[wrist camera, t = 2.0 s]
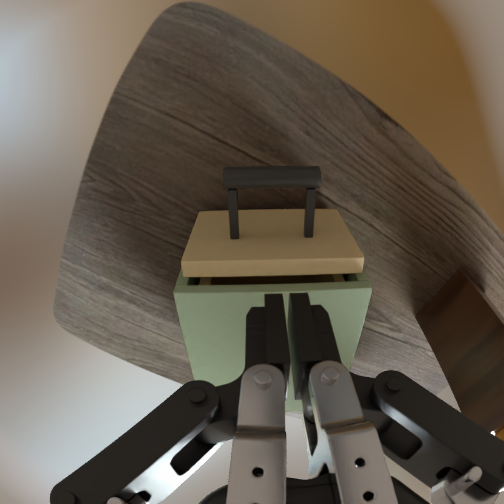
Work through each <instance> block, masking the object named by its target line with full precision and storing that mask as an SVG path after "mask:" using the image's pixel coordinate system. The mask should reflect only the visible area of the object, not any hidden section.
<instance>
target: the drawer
mask: <svg viewBox="0 0 504 504" xmlns="http://www.w3.org/2000/svg"><path fill="white" fill-rule="evenodd" d="M320 184H321V171H320V168H319V167H318V166H251V167H225V168H223V187H224V189H228V190H227V194H228V210H224V211H200V212H199V214H198V217H197V219H196V222H195V225H194V227H193V230H192V233H191V235H190V238H189V241H188V243H187V246H186V249H185V252H184V254H183V257H182V260H181V266H182V271H183V277H201V279H200V283H199V285H257V284H296V283H325V282H345V280H344V277H343V275H342V274H345V273H362V268H363V263H364V256H363V254H362V252H361V250H360V249H359V247H358V245H357V243H356V242H355V240H354V238H353V236H352V235H351V233H350V231H349V230H348V228H347V226H346V224H345V223H344V221H343V219H342V218H341V216H340V214H339V213H338V211H337V209H315V200H316V189H315V188H319V187H320ZM259 188H306V193H305V209H263V210H238V195H237V189H259Z"/></svg>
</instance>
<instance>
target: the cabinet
mask: <svg viewBox="0 0 504 504" xmlns="http://www.w3.org/2000/svg"><path fill="white" fill-rule="evenodd" d="M342 275H343V277H344V280H345V282H325V283H296V284H257V285H199V283H200V279H201V277H183V271H182V267H181V270H180V273H179V276H178V279H177V282H176V286H175V288H174V291H173V295H174V299H175V304H176V308H177V313H178V317H179V321H180V326H181V330H182V334H183V338H184V342H185V346H186V350H187V354H188V358H189V362H190V366H191V369H192V373H193V377H194V380H204V381H207V382H210V383H212V384H213V385H214V386H215V387H216V386H220V385H224V384H227V383H230V382H232V381H234V380H236V379H237V378H238V377H239V376H240V375H241V374H242V372H243V371H244V368H245V338H246V315H247V313H248V312H249V310H250V308H251V307H263V306H264V294H273V293H282V294H283V300H284V308H285V317H286V325H287V319H288V302H289V293H304V292H307V293H308V295H309V299H310V304H311V305H319V304H321V305H322V306H323V307H324V309H325V310H326V311H327V312H328V314H329V317H330V321H331V324H332V328H333V332H334V335H335V339H336V343H337V347H338V351H339V354H340V358H341V362H342V364H343V365H344V366H345V367H346V368H347V369H348V370H349V371H350V368H351V365H352V361H353V358H354V355H355V352H356V348H357V345H358V341H359V338H360V334H361V331H362V327H363V324H364V320H365V316H366V312H367V308H368V304H369V300H370V296H371V292H372V288H373V287H372V285H371V283H370V281H369V279H368V277H367V275H366V273H365V271H364V269H363V268H362V273H345V274H342ZM287 333H288V332H287ZM302 410H303V406H302V400H295V397H294V387H293V378H292V369H291V366H290V375H289V385H288V394H287V401H285V412H298V411H302Z"/></svg>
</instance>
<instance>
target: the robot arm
mask: <svg viewBox="0 0 504 504" xmlns="http://www.w3.org/2000/svg"><path fill="white" fill-rule="evenodd" d="M287 332H288V333H287ZM290 366H291V369H292V378H293V387H294V397H295V400H302V406H303V410H302V422H303V429H304V434H305V440H306V446H307V451H308V457H309V479H308V480H302V479H295V478H288V477H286V432H285V401H287V394H288V385H289V375H290ZM230 439H233V444H232V453H231V462H230V472H229V481H228V485H225V486H223V487H221V488H218V489H217V490H215V491H213V492H211V493H210V494H209V495H207V496H206V497H205V498H204V499H203V500H202V501H201V502H200V503H199V504H430V503H429V502H428V501H426V500H425V499H423V498H422V497H421V496H419V495H418V494H417V493H415V492H414V491H413V490H411V489H410V488H409V487H407V486H406V485H405V484H403V483H402V482H401V481H399V480H398V479H396V478H395V477H393V476H391V475H390V473H389V469H388V466H387V463H386V459H385V456H384V455H386V456H387V457H388V458H390V459H391V460H392V461H394V462H395V463H396V464H398V465H399V466H400V467H402V468H403V469H404V470H406V471H407V472H409V473H410V474H411V475H413V476H414V477H415V478H417V479H418V480H420V481H421V482H422V483H424V484H425V485H427V486H428V487H430V488H431V503H432V504H494V502H495V501H496V499H497V497H498V495H499V494H500V492H502V491H503V490H504V441H503V440H501V439H500V438H498V437H497V436H495V435H494V434H492V433H491V432H489V431H488V430H486V429H485V428H483V427H482V426H480V425H479V424H477V423H476V422H474V421H473V420H471V419H470V418H468V417H466V416H465V415H464V414H462V413H461V412H459V411H458V410H456V409H454V408H453V407H451V406H450V405H448V404H447V403H446V402H444V401H443V400H441V399H439V398H438V397H437V396H435V395H434V394H432V393H431V392H429V391H428V390H426V389H425V388H423V387H422V386H420V385H419V384H417V383H416V382H415V381H413V380H412V379H410V378H409V377H407V376H406V375H404V374H403V373H401V372H398V371H393V370H389V371H384V372H382V373H380V374H379V375H378V376H377V377H376V378H370V377H363V376H359V375H356V374H353V373H351V372H350V371H349V370H348V369H347V368H346V367H345V366H344V365H343V364H342V362H341V358H340V354H339V351H338V347H337V343H336V339H335V335H334V332H333V328H332V324H331V321H330V317H329V314H328V312H327V311H326V310H325V309H324V307H323V306H322V305H321V304H319V305H311V304H310V299H309V295H308V293H307V292H304V293H289V302H288V319H287V325H286V317H285V308H284V300H283V294H282V293H273V294H264V306H263V307H251V308H250V310H249V312H248V313H247V315H246V338H245V368H244V371H243V372H242V374H241V375H240V376H239V377H238V378H237V379H236V380H234V381H232V382H230V383H227V384H224V385H220V386H216V387H215V386H214V385H213V384H212V383H210V382H207V381H204V380H194V381H190V382H188V383H186V384H184V385H183V386H182V387H180V388H179V389H178V390H177V391H176V392H174V393H173V394H172V395H171V396H170V397H169V398H167V399H166V400H165V401H164V402H163V403H161V404H160V405H159V406H158V407H156V408H155V409H154V410H153V411H152V412H150V413H149V414H148V415H147V416H146V417H144V418H143V419H142V420H141V421H139V422H138V423H137V424H136V425H134V426H133V427H132V428H131V429H129V430H128V431H127V432H126V433H124V434H123V435H122V436H120V437H119V438H118V439H117V440H115V441H114V442H113V443H112V444H110V445H109V446H108V447H106V448H105V449H104V450H102V451H101V452H100V453H99V454H97V455H96V456H95V457H93V458H92V459H91V460H89V461H88V462H87V463H85V464H84V465H83V466H81V467H80V468H79V469H77V470H76V471H74V472H73V473H72V474H71V475H69V476H68V477H66V478H65V479H63V480H62V481H61V482H59V483H58V484H56V485H55V486H54V488H53V489H52V491H51V494H50V504H159V503H160V502H161V501H162V500H164V499H165V498H166V497H167V496H168V495H169V494H171V493H172V492H173V491H174V490H175V489H176V488H177V487H179V485H181V484H182V483H183V482H184V481H185V480H186V479H187V478H188V477H190V476H191V475H192V474H193V473H194V472H195V471H196V470H197V469H198V468H199V467H200V466H201V465H202V464H203V463H204V462H205V461H206V460H208V459H209V458H210V456H212V454H214V453H215V452H216V451H217V450H218V449H219V448H220V447H221V446H222V445H223V444H224V442H225V441H227V440H230Z"/></svg>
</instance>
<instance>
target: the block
mask: <svg viewBox="0 0 504 504" xmlns="http://www.w3.org/2000/svg"><path fill="white" fill-rule="evenodd" d="M495 436H497V437H498V438H500V439H501V440H503V441H504V428H502V429H501V430H500V431H498V432H497V433H496V434H495Z"/></svg>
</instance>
